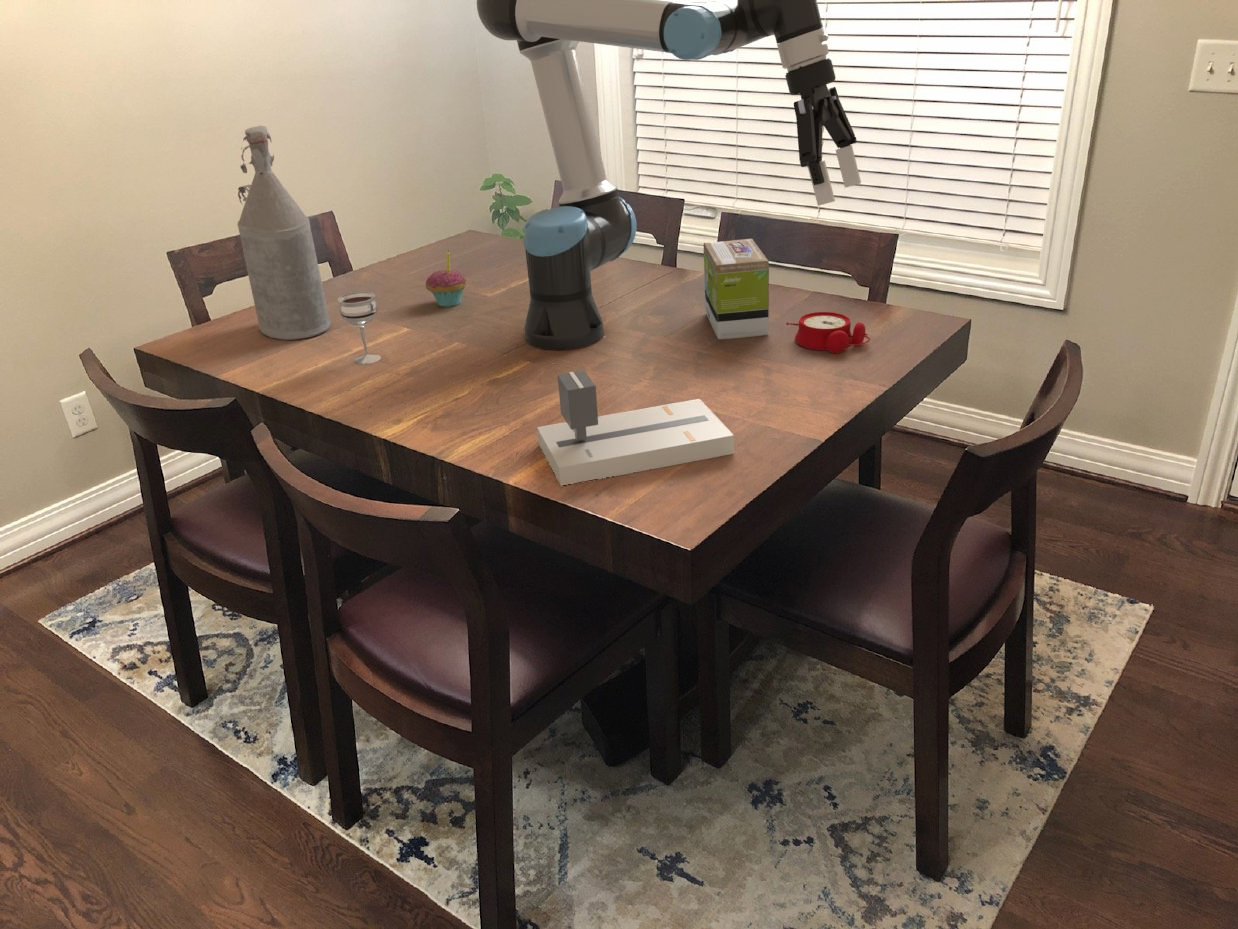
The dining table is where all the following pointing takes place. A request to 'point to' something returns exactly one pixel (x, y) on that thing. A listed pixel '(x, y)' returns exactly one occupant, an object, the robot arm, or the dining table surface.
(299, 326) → the stoneware bottle
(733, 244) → the tea box
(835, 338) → the alarm clock
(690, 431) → the console
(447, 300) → the cupcake
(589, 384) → the fader knob
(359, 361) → the wineglass
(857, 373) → the dining table surface
